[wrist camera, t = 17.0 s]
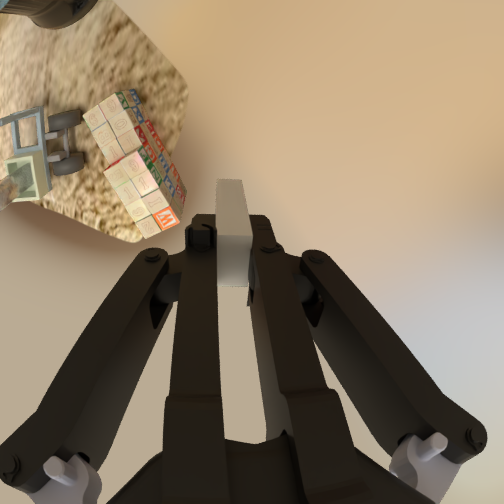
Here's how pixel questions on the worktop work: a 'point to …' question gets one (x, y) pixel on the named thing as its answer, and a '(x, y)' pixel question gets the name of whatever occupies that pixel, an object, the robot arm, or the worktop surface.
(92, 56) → the worktop surface
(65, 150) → the cart
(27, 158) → the tray
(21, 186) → the orange capped bottle
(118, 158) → the stack of blocks
